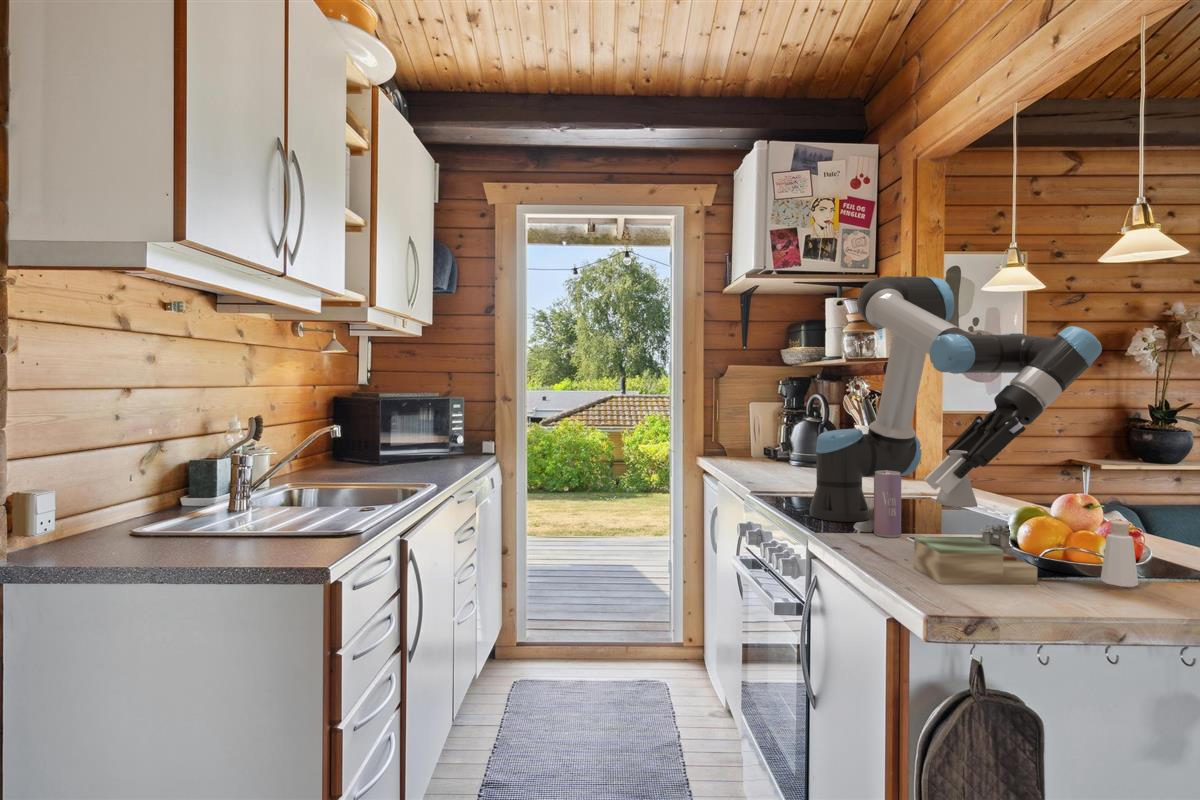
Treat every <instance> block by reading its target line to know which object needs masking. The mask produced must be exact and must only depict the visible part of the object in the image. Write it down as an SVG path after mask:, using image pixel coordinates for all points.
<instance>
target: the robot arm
mask: <svg viewBox="0 0 1200 800" xmlns="http://www.w3.org/2000/svg"><path fill="white" fill-rule="evenodd" d="M954 297H955V296H954V293H953V291H952V289H951V287H950V285H949V284H948V282H947V281H946V280H944V279H943V278H940V277H931V276H892V275H886V276H880V277H876V278H874V279H872V280H871V281H868V282H867V283H866V285H864V286H863V287H862V288H861V290H860V291H859V294H858V296H857V300H856V301H857V302H856V308H857V311H858V314H859V315H860V317H861V318H862V319H863V320H864V321H865V322H866V323H868V324H869V325H871V326H873V327H875V328H878V329H887V330H888V331H890V332H891V333H892V340H891V343H890V350H889V355H888V360H887V365H886V369H885V375H884V381H883V385H882V390H881V391H882V392H881V395H880V402H879V406H878V411H877V416H876V419H875V420H873V421H872V422H870V424H869V425H868V426H869V427H868V431H867V433H863V431H862V429H860V428H847V429H843V428H842V429H835V430H828V431H824V432H821V433H820V434H819V435H818V436H817V438H816V447H815V452H816V454H815V456H816V460H815V461H816V462H815V463H816V488H815V492H814V493H813V497H812V499H811V503H810V504H809V505H810V506H809V516H810V517H811V518H814V519H818V520H824V521H831V522H847V523H848V522H849V523H850V522H863V521H867V520H870V519H869V518H870V509H869V506H868V503H867V500H866V497H865V494H864V491H863V478H874V475H875V471H897V472H900V473H901V474H900V475H901V477H905V476H909V475H910V474H912V473H913V472H915V470H916V469H918V466H919V464H920V462H921V458H922V449H921V446H922V444H921V441H920V439H919V438H918V437H917V436H916V435H917V433H916V431H915V429H914V428H913V426H912V423H913V419H914V414H915V408H916V405H917V399H918V394H919V389H920V385H921V382H922V381H921V379H922V375H923V372H924V366H925V362H926V357H927V354H928V355H929V360H930V362H931V364H932V367H933V369H935V370H936V371H938V372H940V373H949V374H955V375H956V374H983V373H984V374H987V373H989V374H990V373H992V374H993V373H997V374H998V373H999V374H1009V373H1010V374H1013V373H1014V374H1016V376H1014V377H1013V378H1012V379H1011V380H1010V382H1009V385H1006V386H1005V387H1004V388H1003V389H1002V390H1001V391H1000V392H998V394H997V395H996V396H994V399H993V401H994V405H995V409H994V410H993V411H991V412H989V413H987V414H986V415H985V416H984V418H983V417H982V416H981V415H977V416H976V417H975V418H974V419H973V421H972V422H971V424H970V425H969V426H968V427H967V428H966V429H965V430H964V431H962V433H961V434H960V435H959V436H958V437H957V438H956V439H955V440H954V441H953V442H952V443H951V444H950V445H949V446H948V448H946V449H945V453H946V454H947V456H946V457H945V458H944V459H943V460H942V461H940V463H938V465H937V466H936V467H935V468H934V469H933V470H931V472H930V473H929V474H927V476H926V477H925V478H924V479H923V480H924V482H926V483H927V484H928V485H929V486H930V487H931V489H933V490H934V491H936V490H937V489H939V488H940V489H942V490H943V491H944V492H945V493H947V494H948V493H949V492H950V491H951V490H952V489H953V488H954V487H955V486H956V485H957V484H958V483H959V482H960V481H961V480H962V479H963V478H964V477H965V476H966V475H967V474H968V475H969V473H970V472H971V471H972V470H973V469H977V468H979V466H981V467H986V466H987V464H989V463H990V462H991V461H992V460H993V459H994V458H995V457H996V456H997V455H998V454H1000V452H1002V450H1004V449H1005V448H1006V447H1007V446H1008V445H1009V444H1010V443H1011V442H1012V441H1013V440H1014V439H1015V438H1017V437H1018V436H1019V435H1020V434H1022V433H1024V432H1025V431H1026V427H1025V426H1029V425H1031V424H1032V423H1033V422H1035V420H1036V419H1037V418H1039V416H1040V415H1041V414H1042V413H1043V412H1044V409H1047V408H1048V407H1049V406H1050V405H1051V404H1054V403H1056V402H1057V401H1056V400H1057V398H1058V397H1059V396H1060V395H1061V394H1062V393H1063V392H1065V391H1066V390H1067V389H1068V388H1069V387H1070V386H1071V385H1072V384H1073V383H1074V382H1075V381H1076V380H1077V379H1078V378H1079V377H1080V376H1082V374H1083V373H1084V372H1086V371H1087V369H1089V368H1091V365H1093V363H1094V362H1095V361H1096V360H1097V359H1098V357H1099V356H1100V355H1101V353H1102V350H1103V347H1102V344H1101V342H1100V341H1099V339H1098V338H1097V337H1096V336H1095V335H1094V334H1092V332H1090V331H1088V330H1087V329H1084V328H1082V327H1080V326H1075V325H1074V326H1073V325H1071V326H1068V327H1066V328H1065V327H1064V329H1063V330H1062V331H1060V332H1058V333H1057V335H1056V336H1055V337H1049V336H1048V337H1046V336H1038V335H1030V334H1029V335H1028V334H1025V333H1020V332H1019V333H1014V332H1013V333H1004V334H973V333H970V332H968V331H966V330H964V329H962V328H960V327H959V326H957V325H954V324H953V323H951V322H949V320H951V318H952V317H953V313H954V311H955V298H954ZM949 450H960V451H967V452H968V454H967V453H964V454H962V456H963V457H964V458H965V459H966V460H964V459H963V458H960V459H959V460H958V461H957V462H956V463H955V464H954V465H953V466H952V467H951V468H950V469H949V465H950V454H949ZM948 469H949V470H948Z"/></svg>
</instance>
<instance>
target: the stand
mask: <svg viewBox="0 0 1200 800" xmlns="http://www.w3.org/2000/svg"><path fill="white" fill-rule="evenodd" d="M913 538H914V539H913V542H914V544H913V545H914V546H913V550H914V551H913V553H914V554H913V568H914V569H916V570H917V571H919V572H921V573H923V574H925V576H927V577H929V578H930V579H932V580H934V581H935V582H937V583H939V584H941V585H942V584H943V585H944V584H945V585H949V584H950V585H953V584H954V585H957V584H958V585H1038V566H1035V565H1033V564H1031V563H1028V562H1026V561H1024V560H1021V559H1020V558H1017V557H1016V556H1013V555H1010V554H1008V553H1006V552H1004V550H1003V549H1001V548H999V547H997V546H994V545H993V544H987V543H985V542H982V540H980V539H978V538H975V537H973V536H914V537H913Z"/></svg>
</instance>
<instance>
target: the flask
mask: <svg viewBox="0 0 1200 800" xmlns="http://www.w3.org/2000/svg"><path fill="white" fill-rule="evenodd" d="M964 453H967V454H968V452H967V451H960V450H949V454H950V465H949V469H950V468H951V467H952V466H953V465H954V464H955V463H956V462H957V461H958V460H959V459H960V458H963V459H964V460H966V459H965V458H964V457H963V456H962V454H964ZM949 469H948V470H949ZM935 504H939V505H943V506H945V507H955V508H963V509H964V508H978V502H977V499H976V496H975V493H974V491H973V487H972V485H971V481H970V477H969V473H968V474H967V475H966V476H965V477H964V478H963V479H962V480H961V481H960V482H959V483H958V484H957V485H956V486H955V487H954V488H953V489H952V490H951V491H950V492H949V493H948V494H947V493H945V492H944V491H943V490H942V489H941V488H940V489H939V492H938V494H937V497H936V498H935Z"/></svg>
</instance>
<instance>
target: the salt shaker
mask: <svg viewBox="0 0 1200 800" xmlns="http://www.w3.org/2000/svg"><path fill="white" fill-rule="evenodd" d="M1109 522H1110V523H1109V524H1110V533H1108V534H1106V538H1105V545H1104V551H1103V557H1102V558H1103V559H1102V567H1101V573H1100V581H1101V582H1103V583H1104V584H1106V585H1111V586H1117V587H1124V588H1127V587H1128V588H1134V587H1136V586H1138V585H1139V578H1138V570H1137V569H1138V568H1137V561H1136V560H1137V559H1136V553H1135V551H1136V550H1135V544H1134V538H1133V536H1131V535H1129V534H1130V533H1129V532H1130V525H1131V524H1130V523H1129V522H1128V521H1126V520H1125V521H1124V520H1116V519H1115V520H1111V521H1109Z"/></svg>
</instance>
